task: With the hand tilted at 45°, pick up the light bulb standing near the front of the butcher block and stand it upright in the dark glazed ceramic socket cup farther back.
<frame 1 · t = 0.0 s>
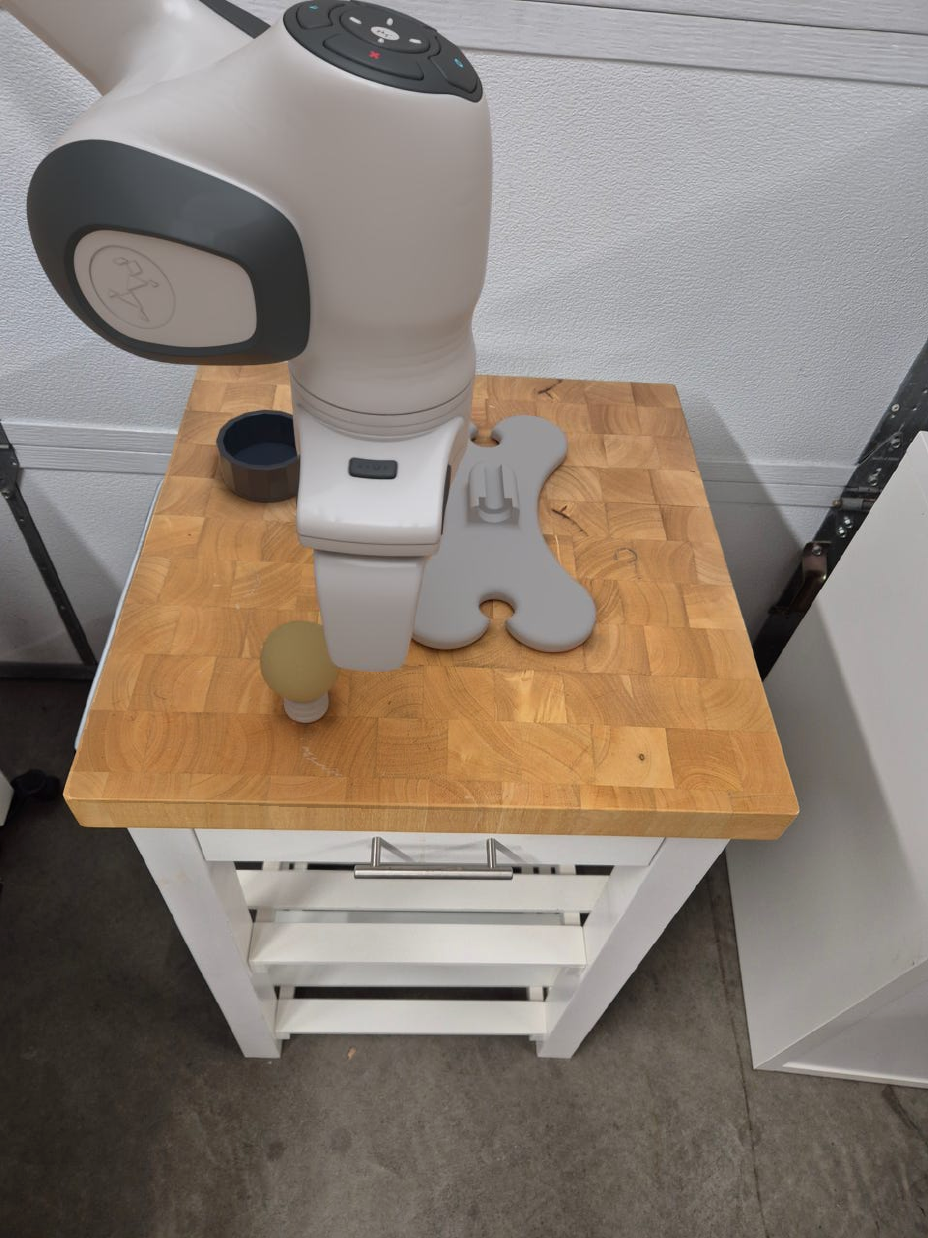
hand: (381, 591, 51), 21 cm above the table, tool pointing down, fingers open, 8 cm apart
light bulb: (307, 709, 70), on the table
holder: (489, 526, 86), on the table
socket: (269, 471, 89), on the table
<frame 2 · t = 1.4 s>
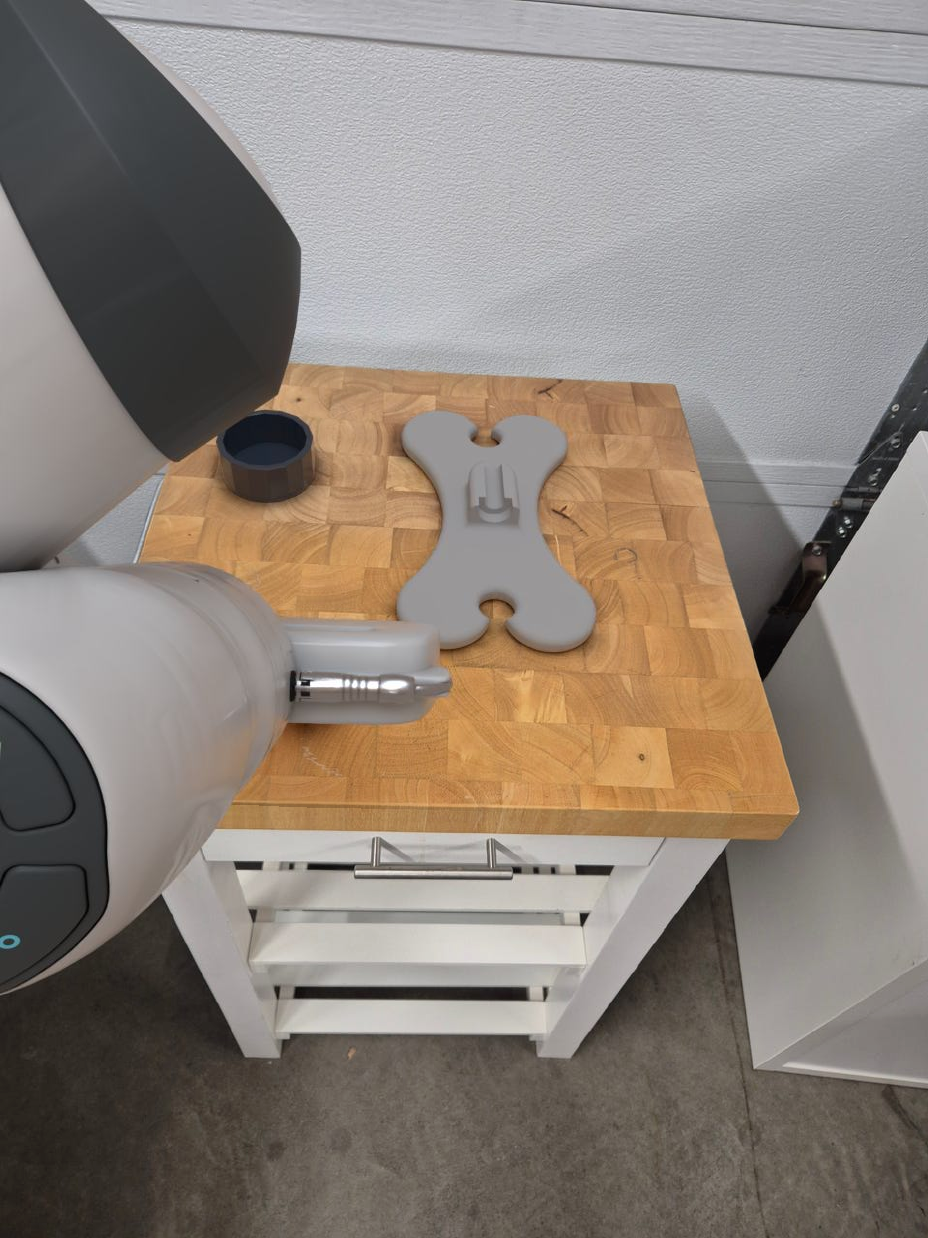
hand: (245, 640, 43), 25 cm above the table, tool tilted 45°, fingers open, 8 cm apart
nothing on the table moved.
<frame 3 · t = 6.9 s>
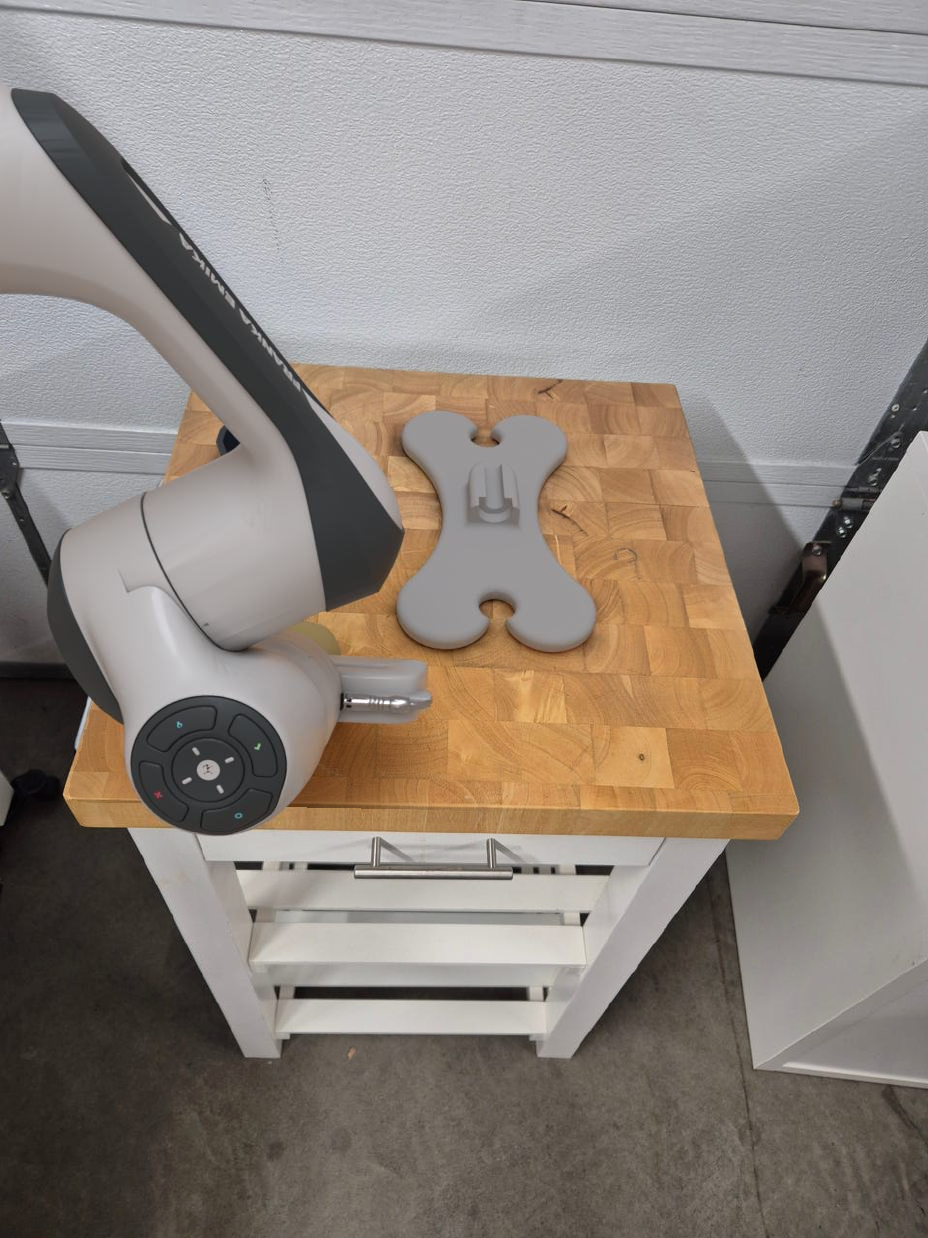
hand: (303, 665, 66), 5 cm above the table, tool tilted 45°, fingers closed on light bulb, 6 cm apart
light bulb: (307, 709, 70), on the table, touching gripper
everything else where it was.
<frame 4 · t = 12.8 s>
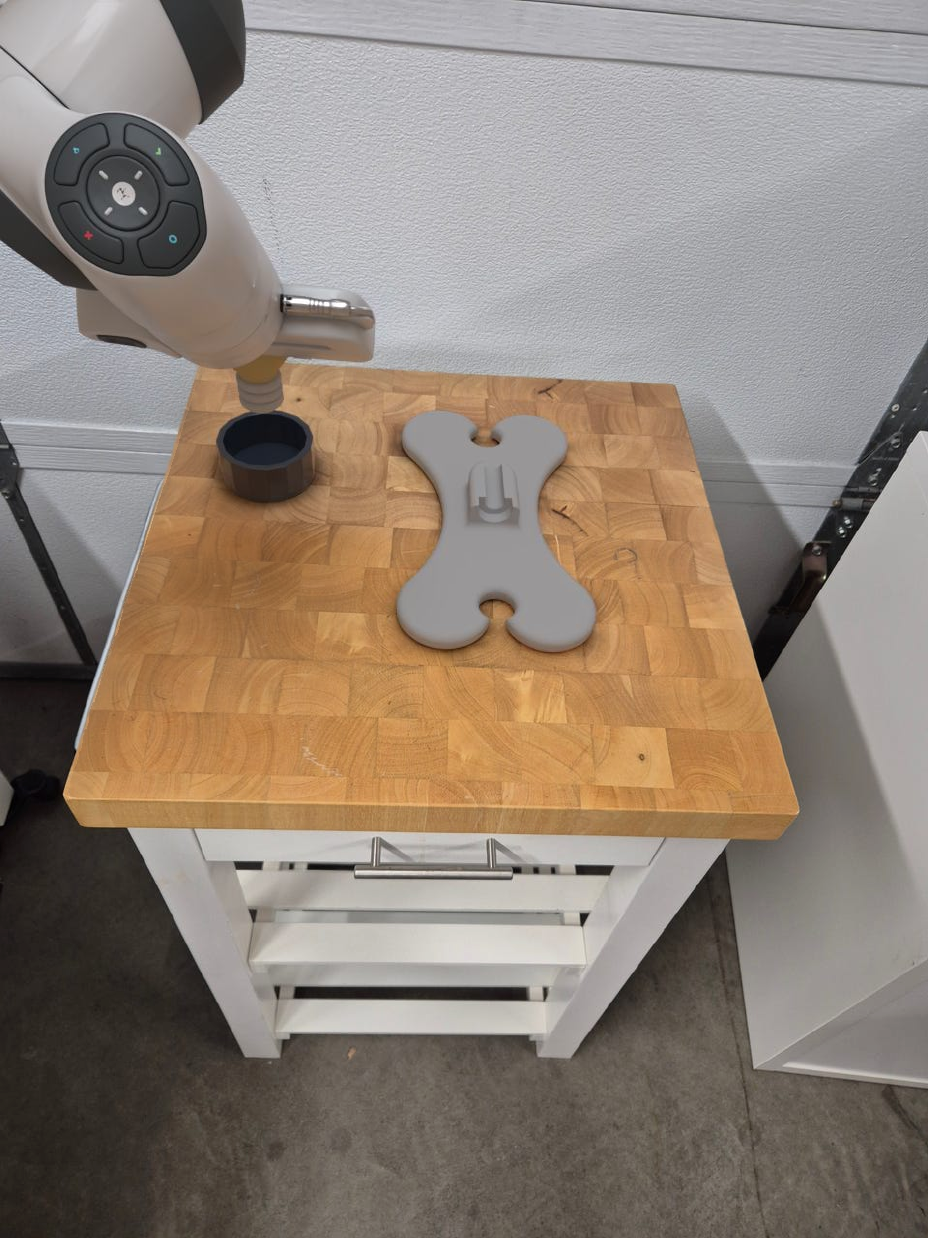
hand: (256, 344, 67), 21 cm above the table, tool tilted 45°, fingers closed on light bulb, 6 cm apart
light bulb: (262, 406, 71), point 16 cm above the table, touching gripper
everything else where it was.
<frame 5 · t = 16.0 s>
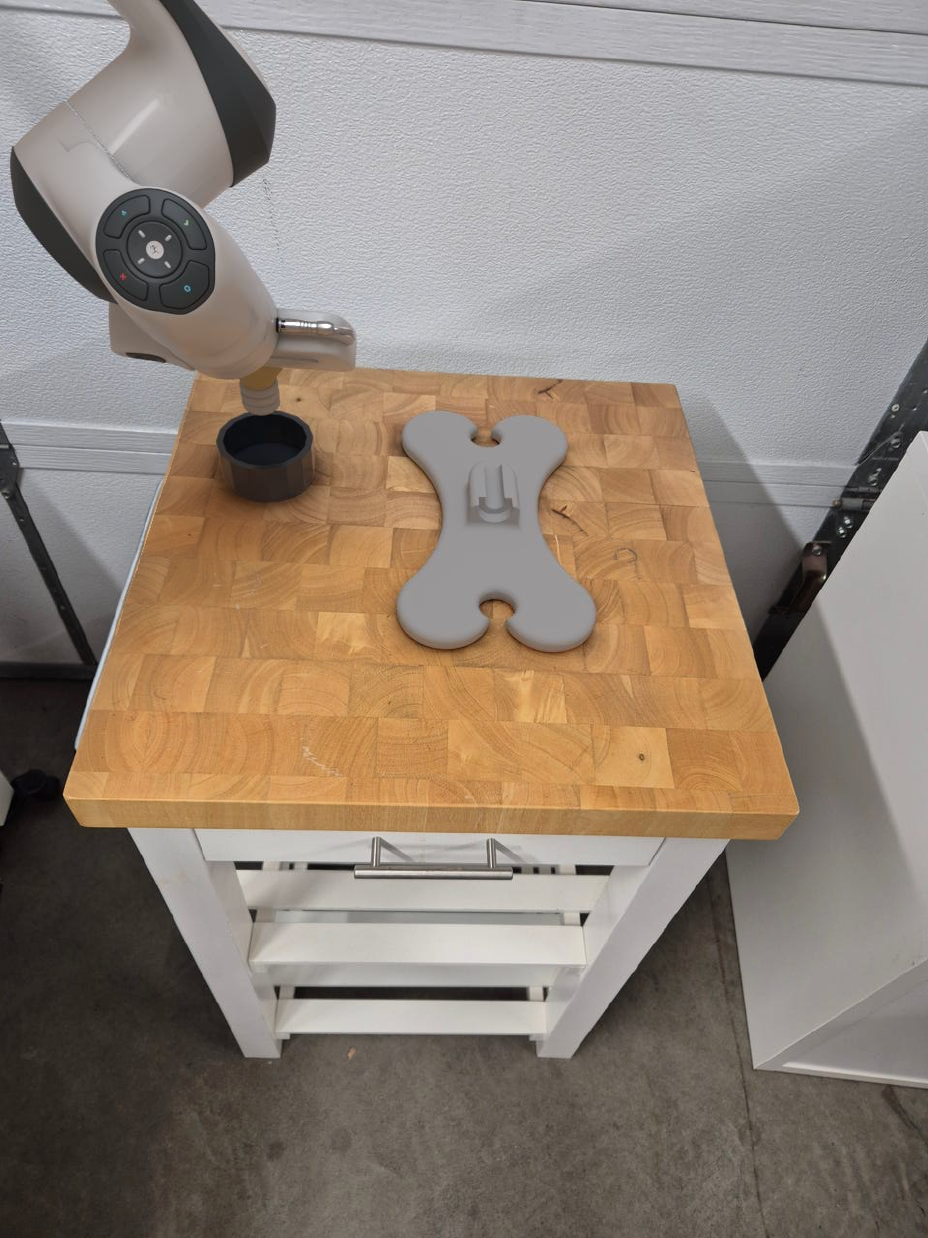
hand: (256, 357, 78), 14 cm above the table, tool tilted 45°, fingers closed on light bulb, 6 cm apart
light bulb: (262, 409, 82), point 8 cm above the table, touching gripper
everything else where it was.
when the fingers open (6 cm above the table, at t = 18.7 s): light bulb stays where it is, resting on socket.
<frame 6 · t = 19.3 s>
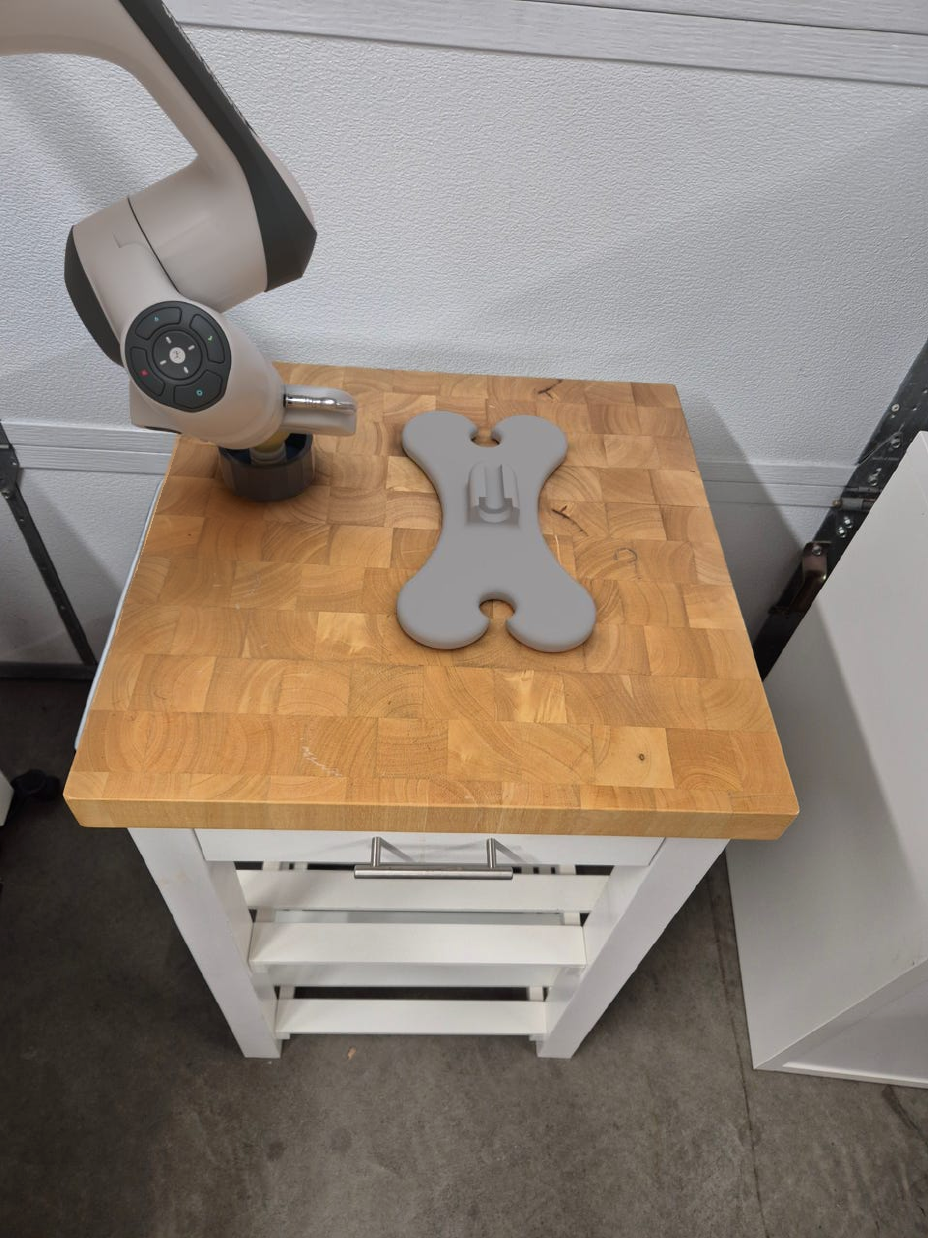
hand: (263, 418, 84), 7 cm above the table, tool tilted 45°, fingers open, 8 cm apart
light bulb: (270, 468, 88), resting on socket
everything else where it was.
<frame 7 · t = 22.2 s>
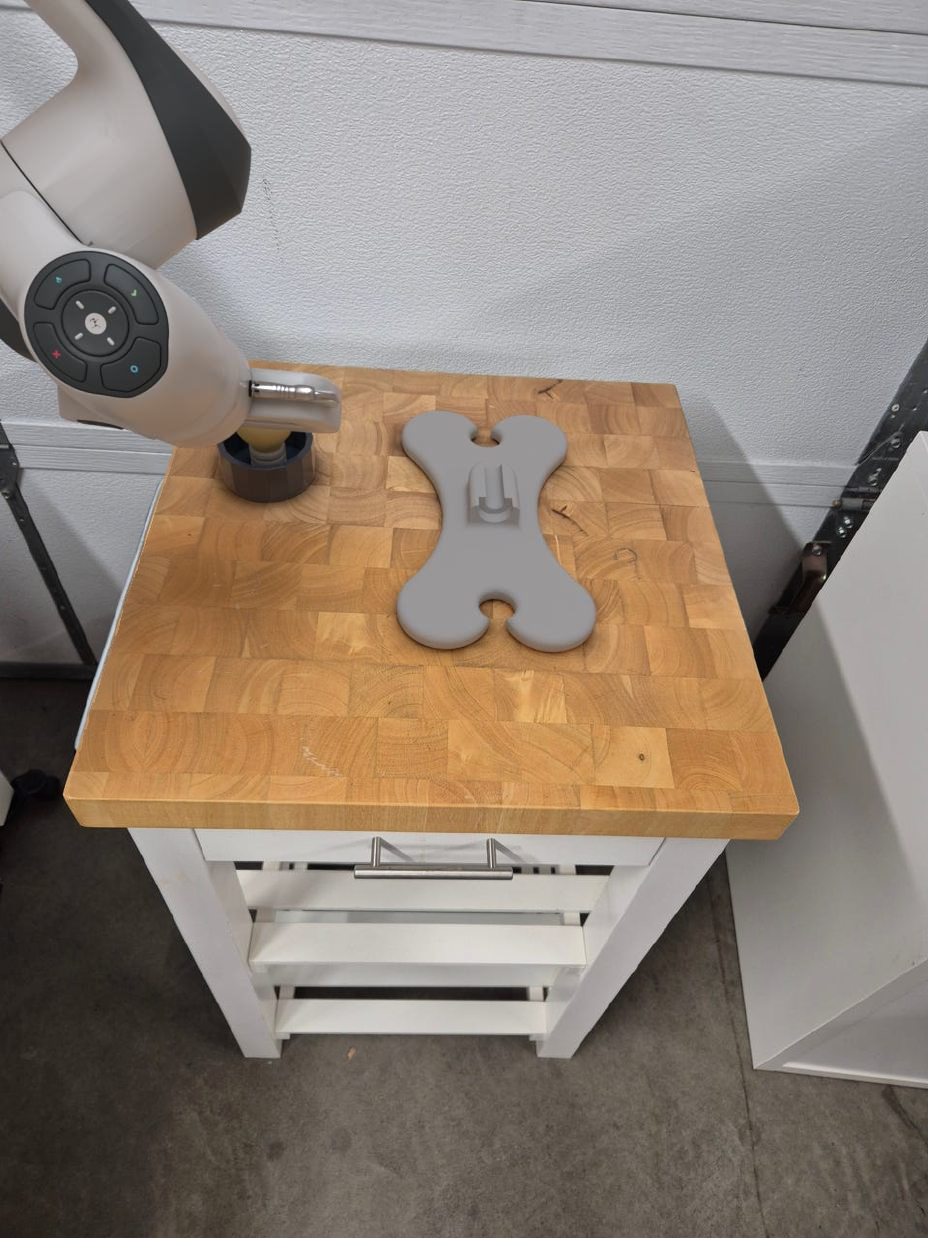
hand: (230, 412, 70), 15 cm above the table, tool tilted 45°, fingers open, 8 cm apart
nothing on the table moved.
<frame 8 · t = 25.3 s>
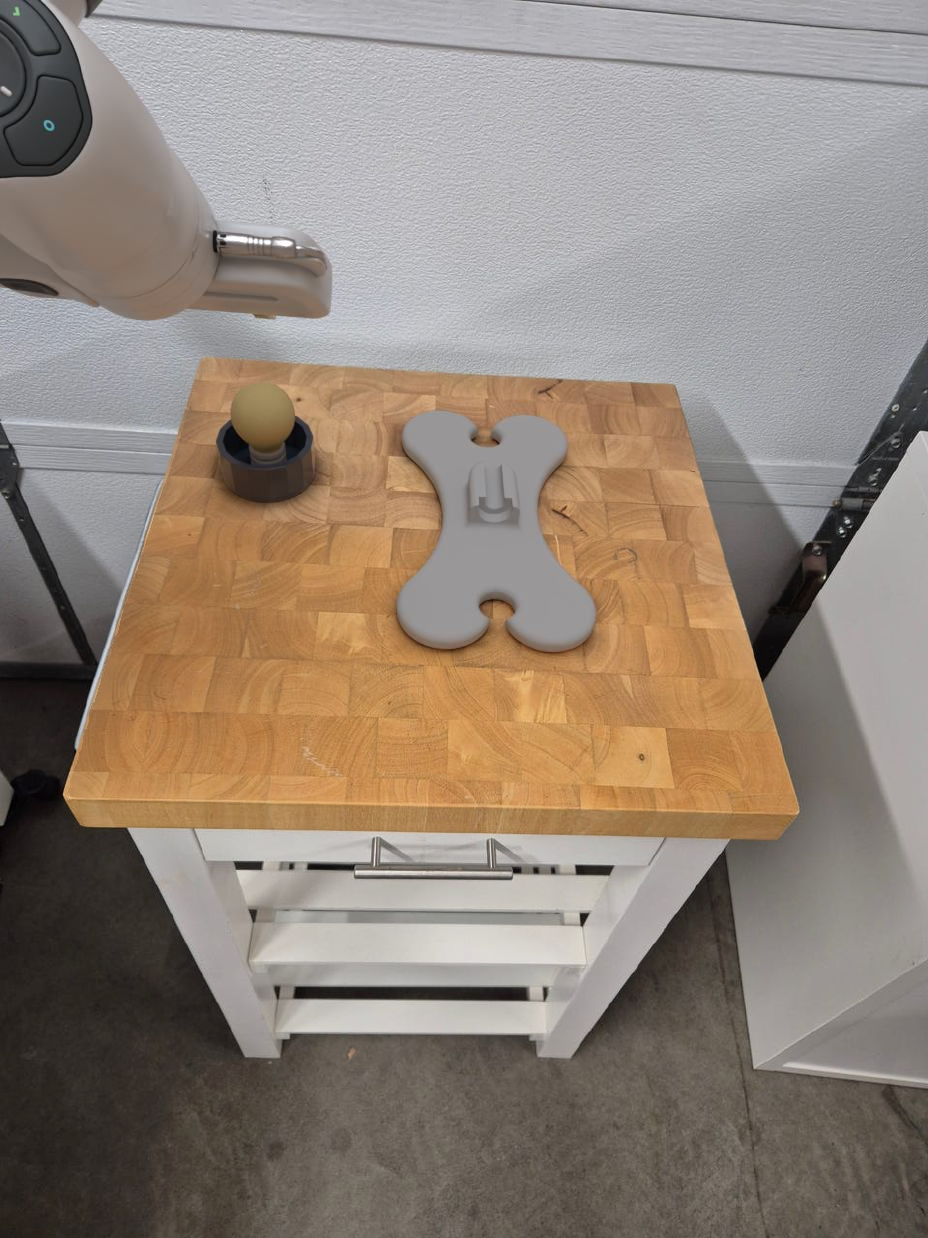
hand: (201, 302, 59), 27 cm above the table, tool tilted 45°, fingers open, 8 cm apart
nothing on the table moved.
at the end: light bulb 0.1 cm off-centre in the socket, point 0.4 cm above the socket's base; light bulb tilted 0°; the gripper is holding nothing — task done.
